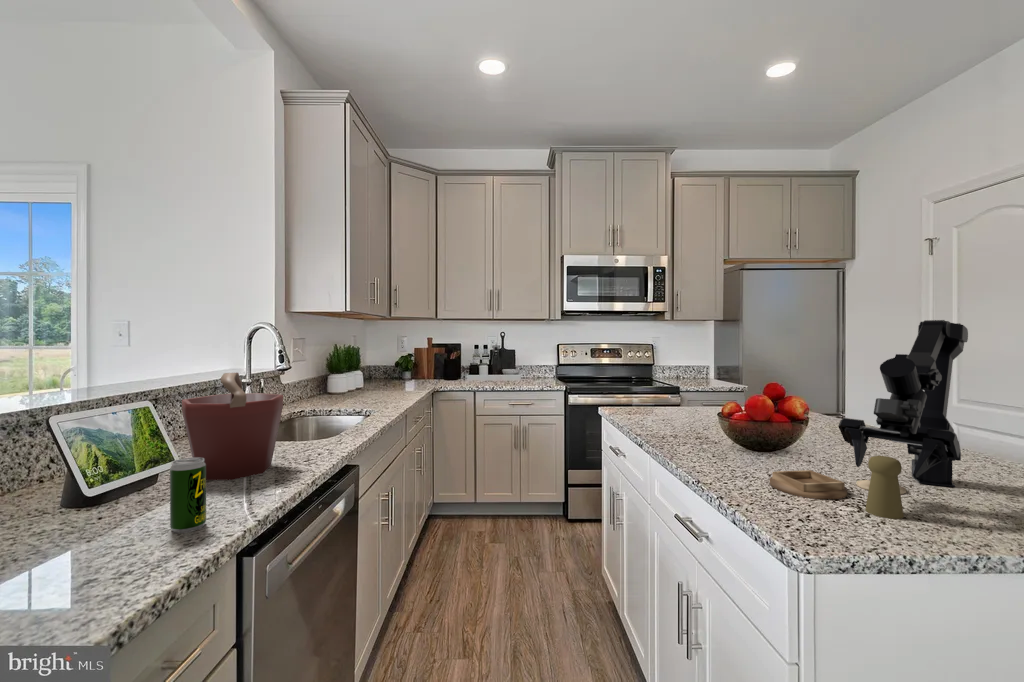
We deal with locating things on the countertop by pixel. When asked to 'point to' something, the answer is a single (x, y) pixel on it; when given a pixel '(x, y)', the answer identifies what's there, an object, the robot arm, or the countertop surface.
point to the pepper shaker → (884, 488)
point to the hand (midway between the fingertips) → (884, 470)
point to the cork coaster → (865, 484)
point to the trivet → (808, 484)
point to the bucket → (233, 430)
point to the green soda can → (187, 494)
